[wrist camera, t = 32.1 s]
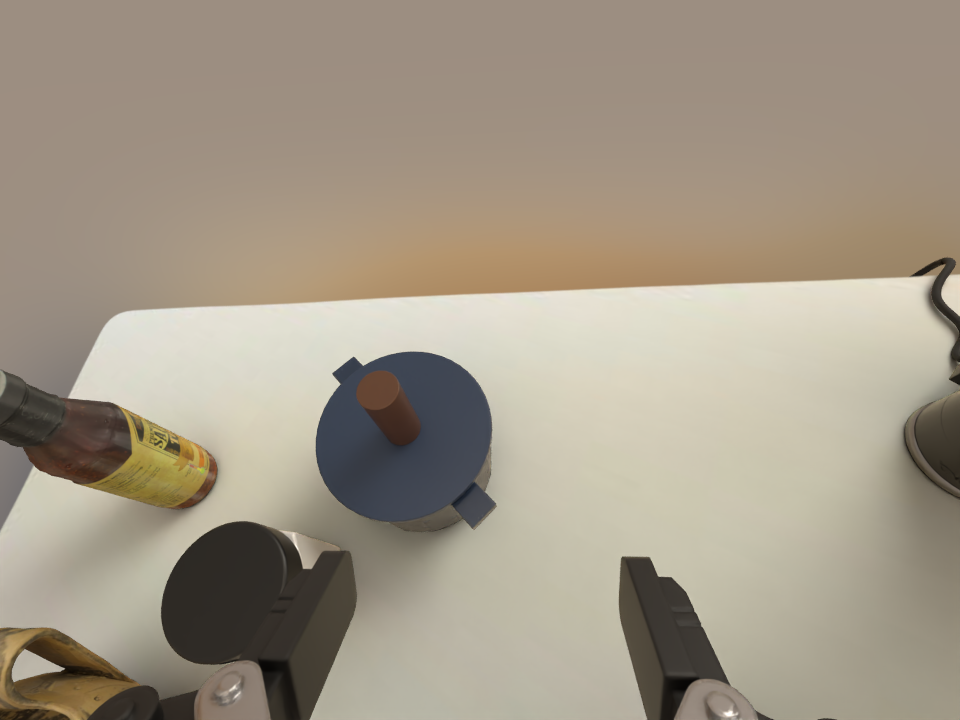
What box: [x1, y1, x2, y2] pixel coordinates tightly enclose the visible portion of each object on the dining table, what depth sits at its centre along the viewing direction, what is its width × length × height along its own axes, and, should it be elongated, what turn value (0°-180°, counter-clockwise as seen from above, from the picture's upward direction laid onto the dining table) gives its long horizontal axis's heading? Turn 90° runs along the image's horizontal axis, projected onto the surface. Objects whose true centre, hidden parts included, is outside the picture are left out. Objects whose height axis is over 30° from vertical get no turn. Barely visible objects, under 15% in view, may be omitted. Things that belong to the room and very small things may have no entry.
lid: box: [316, 352, 492, 523], centre depth 32 cm, size 14×14×8 cm
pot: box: [332, 357, 497, 532], centre depth 39 cm, size 13×18×10 cm
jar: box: [161, 521, 341, 665], centre depth 33 cm, size 9×8×12 cm
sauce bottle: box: [0, 370, 217, 509], centre depth 36 cm, size 7×6×20 cm
